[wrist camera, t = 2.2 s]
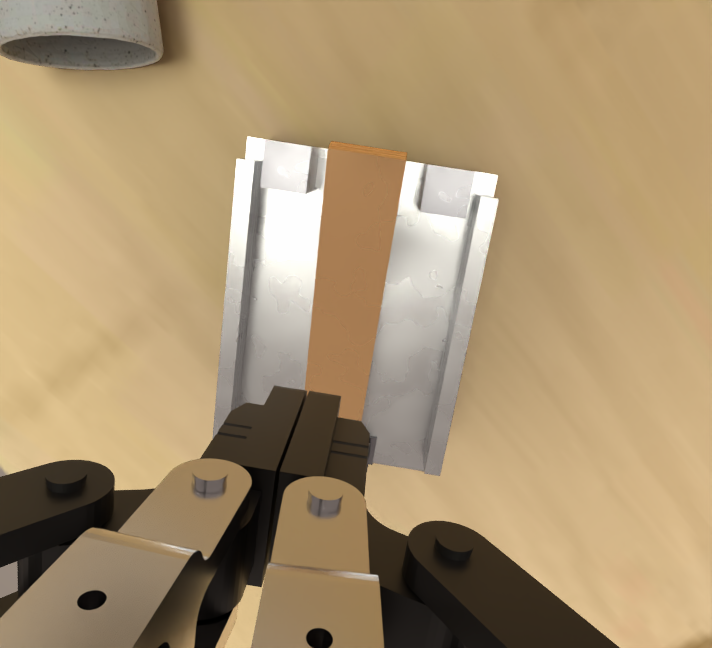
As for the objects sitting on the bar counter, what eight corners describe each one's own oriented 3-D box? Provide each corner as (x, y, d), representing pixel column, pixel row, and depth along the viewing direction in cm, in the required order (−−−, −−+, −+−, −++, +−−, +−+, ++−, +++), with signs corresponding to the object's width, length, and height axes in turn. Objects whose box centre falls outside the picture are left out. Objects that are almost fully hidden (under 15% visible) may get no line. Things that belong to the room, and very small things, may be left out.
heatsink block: (268, 139, 32) (230, 133, 25) (482, 172, 32) (510, 177, 24) (242, 401, 37) (203, 465, 29) (429, 431, 37) (439, 504, 29)
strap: (313, 138, 23) (306, 149, 21) (424, 155, 23) (424, 168, 21) (288, 444, 32) (282, 466, 31) (367, 457, 32) (365, 480, 31)
